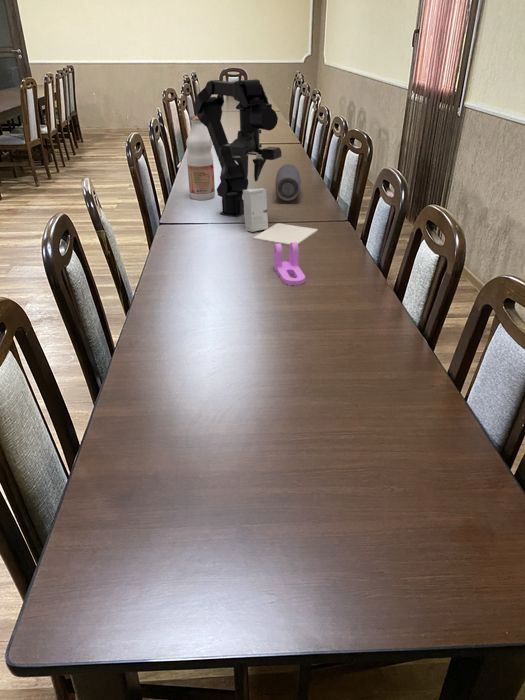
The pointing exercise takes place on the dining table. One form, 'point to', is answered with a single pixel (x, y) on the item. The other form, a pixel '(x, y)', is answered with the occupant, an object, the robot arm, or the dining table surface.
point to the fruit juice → (200, 162)
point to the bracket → (288, 265)
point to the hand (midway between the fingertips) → (250, 180)
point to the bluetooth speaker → (288, 182)
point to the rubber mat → (285, 234)
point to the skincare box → (255, 209)
